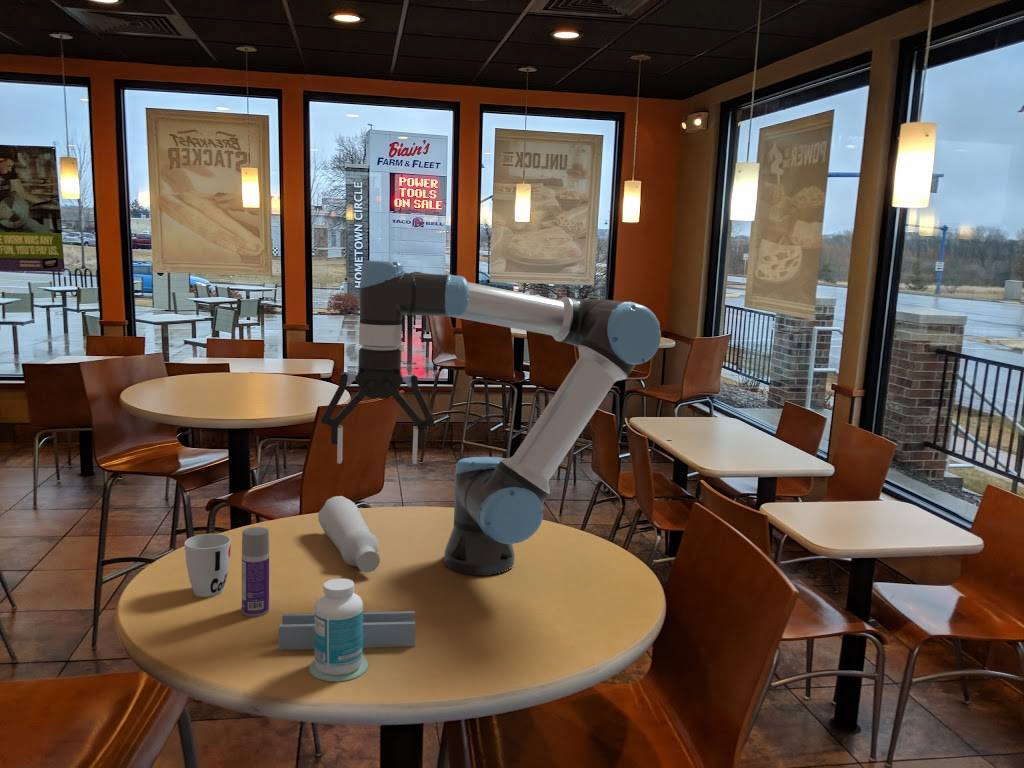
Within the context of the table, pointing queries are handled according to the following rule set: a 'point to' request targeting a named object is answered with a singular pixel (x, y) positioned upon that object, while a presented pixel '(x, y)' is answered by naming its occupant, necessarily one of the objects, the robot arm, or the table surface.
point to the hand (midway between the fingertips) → (377, 462)
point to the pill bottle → (338, 628)
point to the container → (255, 571)
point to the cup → (208, 563)
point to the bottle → (349, 533)
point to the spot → (339, 678)
